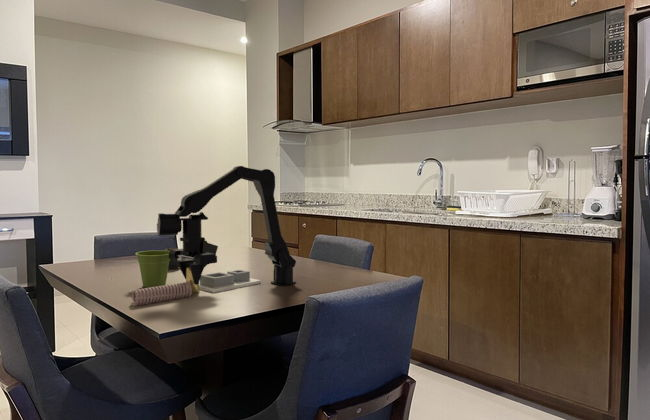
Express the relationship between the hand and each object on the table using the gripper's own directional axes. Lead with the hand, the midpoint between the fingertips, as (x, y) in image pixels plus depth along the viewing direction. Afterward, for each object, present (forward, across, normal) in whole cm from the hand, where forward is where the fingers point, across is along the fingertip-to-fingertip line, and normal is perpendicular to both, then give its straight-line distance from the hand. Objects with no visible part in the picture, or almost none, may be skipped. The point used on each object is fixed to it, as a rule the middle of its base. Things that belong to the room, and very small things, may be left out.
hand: (192, 283), depth 154 cm
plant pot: (+3, +18, +3) cm, 19 cm away
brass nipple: (+3, 0, 0) cm, 3 cm away
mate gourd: (+3, +44, -19) cm, 48 cm away
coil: (+3, -3, +12) cm, 13 cm away
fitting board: (+3, +1, -14) cm, 14 cm away
